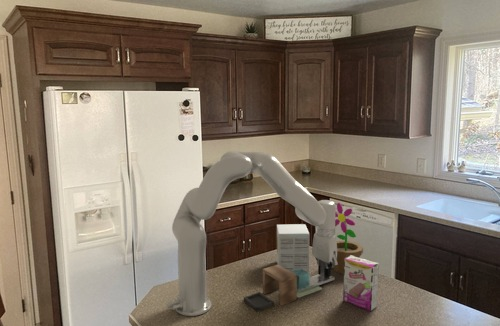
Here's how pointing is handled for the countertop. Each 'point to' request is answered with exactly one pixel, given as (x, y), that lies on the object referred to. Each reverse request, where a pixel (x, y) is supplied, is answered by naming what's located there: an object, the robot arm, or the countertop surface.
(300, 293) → the board
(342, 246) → the flowerpot
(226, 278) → the countertop surface
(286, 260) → the supplement box
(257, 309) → the tray
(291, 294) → the tunnel
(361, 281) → the candy bar box
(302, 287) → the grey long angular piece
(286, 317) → the countertop surface
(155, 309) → the countertop surface
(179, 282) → the robot arm
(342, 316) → the countertop surface
